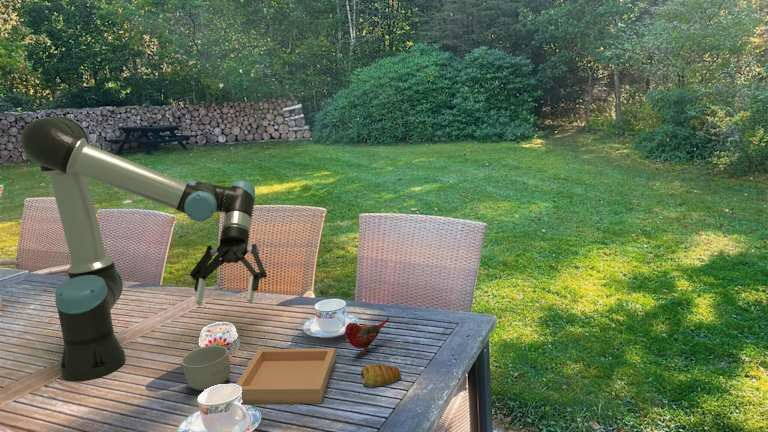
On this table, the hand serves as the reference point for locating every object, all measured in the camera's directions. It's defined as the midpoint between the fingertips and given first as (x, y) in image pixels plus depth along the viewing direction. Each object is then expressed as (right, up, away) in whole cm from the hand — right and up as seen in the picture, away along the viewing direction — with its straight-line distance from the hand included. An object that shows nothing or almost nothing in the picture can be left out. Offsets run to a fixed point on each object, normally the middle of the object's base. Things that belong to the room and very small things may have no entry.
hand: (223, 302), depth 146 cm
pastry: (+40, -17, -11) cm, 45 cm away
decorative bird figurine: (+37, -14, +4) cm, 40 cm away
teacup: (-1, -18, -8) cm, 20 cm away
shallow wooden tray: (+18, -17, -10) cm, 27 cm away
